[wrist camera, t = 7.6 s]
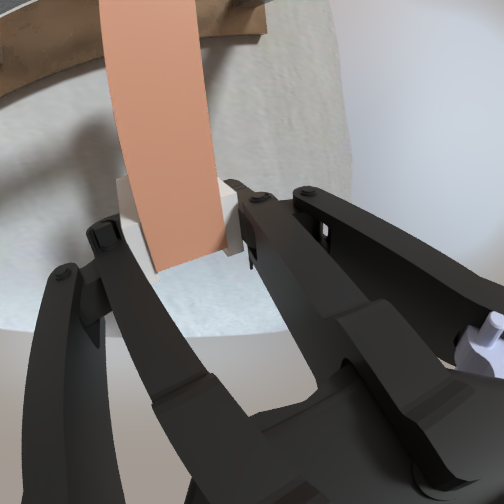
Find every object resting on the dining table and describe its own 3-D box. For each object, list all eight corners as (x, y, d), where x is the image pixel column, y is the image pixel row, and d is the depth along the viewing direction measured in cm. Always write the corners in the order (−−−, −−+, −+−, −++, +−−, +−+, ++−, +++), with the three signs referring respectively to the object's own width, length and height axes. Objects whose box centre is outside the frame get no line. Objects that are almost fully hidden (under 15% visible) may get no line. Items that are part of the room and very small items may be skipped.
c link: (130, 183, 20) (156, 272, 11) (102, 34, 14) (97, -34, 4) (168, 171, 21) (228, 247, 12) (145, 24, 14) (190, -47, 5)
